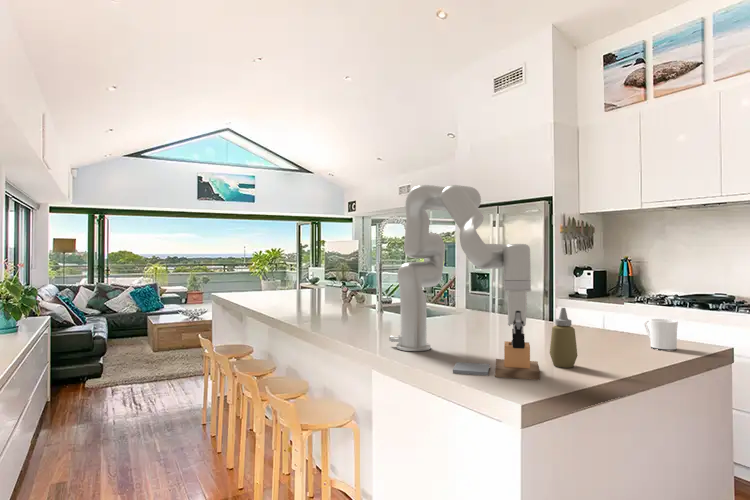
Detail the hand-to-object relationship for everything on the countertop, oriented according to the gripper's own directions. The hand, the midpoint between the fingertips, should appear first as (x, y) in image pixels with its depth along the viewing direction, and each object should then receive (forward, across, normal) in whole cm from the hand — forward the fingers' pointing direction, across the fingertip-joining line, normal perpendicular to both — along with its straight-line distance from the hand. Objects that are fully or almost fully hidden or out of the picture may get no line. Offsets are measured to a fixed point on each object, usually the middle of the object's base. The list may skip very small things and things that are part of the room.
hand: (518, 345), depth 139 cm
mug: (+9, -51, +50) cm, 73 cm away
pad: (+8, 0, -14) cm, 16 cm away
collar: (+6, 0, 0) cm, 6 cm away
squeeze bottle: (+9, -13, +14) cm, 21 cm away
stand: (+8, 0, 0) cm, 8 cm away
